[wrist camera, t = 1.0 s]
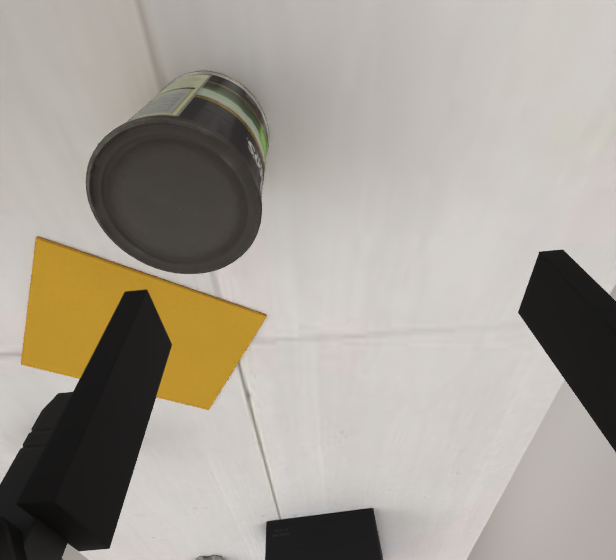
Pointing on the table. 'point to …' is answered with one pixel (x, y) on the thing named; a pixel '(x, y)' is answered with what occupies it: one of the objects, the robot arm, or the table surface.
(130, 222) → the coffee can
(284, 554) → the headphone box
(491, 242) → the table surface
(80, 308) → the cloth
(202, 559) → the egg carton
